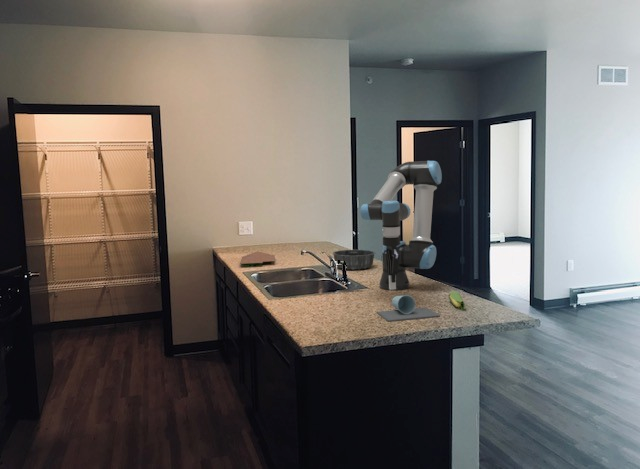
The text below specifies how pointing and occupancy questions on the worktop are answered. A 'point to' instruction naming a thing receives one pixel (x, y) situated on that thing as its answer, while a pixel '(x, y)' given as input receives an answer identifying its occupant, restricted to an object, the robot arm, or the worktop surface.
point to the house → (257, 258)
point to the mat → (416, 314)
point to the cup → (404, 304)
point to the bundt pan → (355, 258)
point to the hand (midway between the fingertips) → (392, 289)
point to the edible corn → (457, 300)
